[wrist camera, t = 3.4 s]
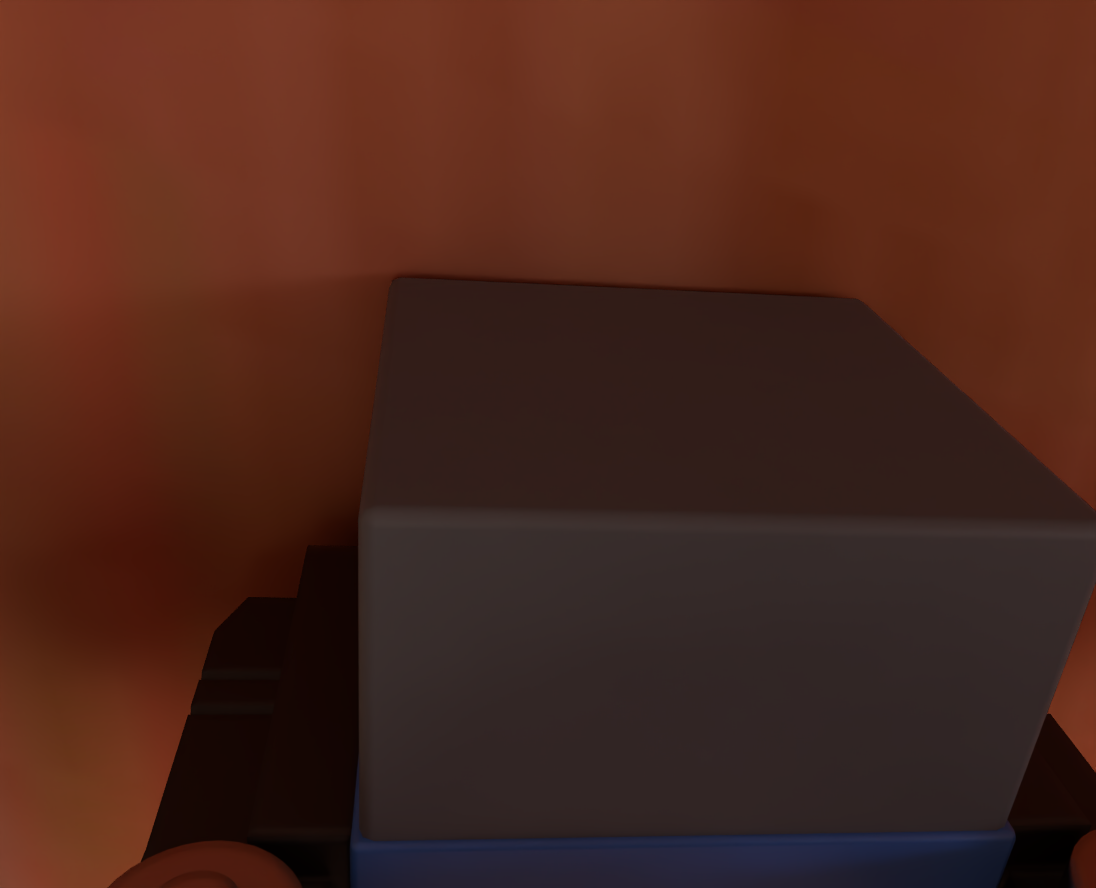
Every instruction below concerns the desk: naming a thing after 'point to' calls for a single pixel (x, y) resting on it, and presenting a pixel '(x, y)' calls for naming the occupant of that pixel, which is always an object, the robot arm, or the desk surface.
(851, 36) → the desk surface
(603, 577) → the block
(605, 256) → the desk surface
